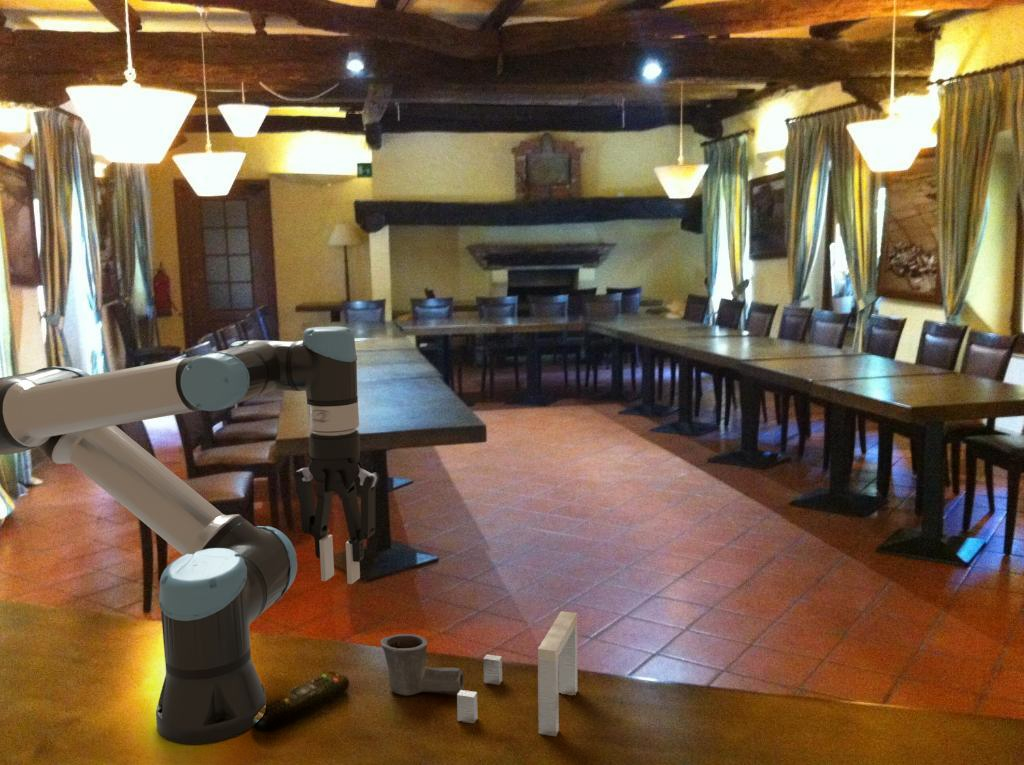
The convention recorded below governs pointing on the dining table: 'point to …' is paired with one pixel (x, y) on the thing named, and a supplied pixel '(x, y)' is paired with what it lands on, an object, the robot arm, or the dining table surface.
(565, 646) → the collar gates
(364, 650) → the dining table surface
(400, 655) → the pipe
